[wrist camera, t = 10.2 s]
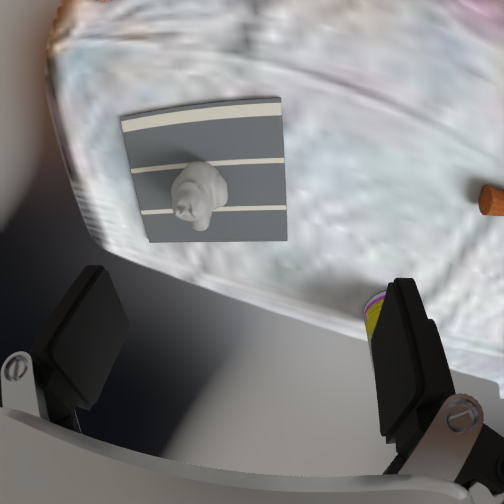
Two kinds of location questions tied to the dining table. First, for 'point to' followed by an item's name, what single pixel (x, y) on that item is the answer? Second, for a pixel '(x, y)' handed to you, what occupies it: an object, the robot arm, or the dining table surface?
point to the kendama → (491, 201)
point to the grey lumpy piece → (198, 194)
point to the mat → (220, 157)
